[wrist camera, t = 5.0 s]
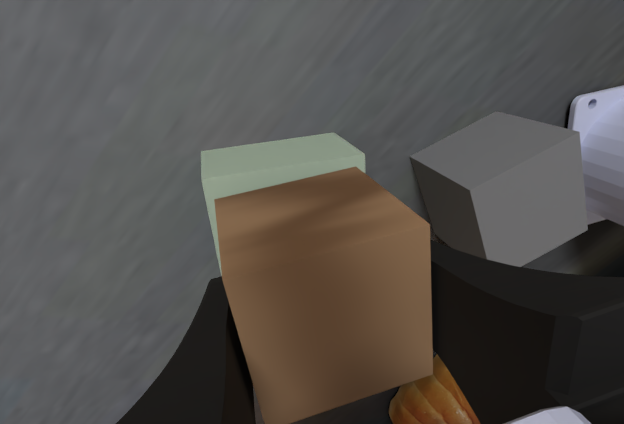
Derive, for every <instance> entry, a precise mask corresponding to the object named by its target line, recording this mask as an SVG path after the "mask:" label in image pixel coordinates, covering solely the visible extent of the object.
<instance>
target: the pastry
mask: <svg viewBox="0 0 624 424" xmlns="http://www.w3.org/2000/svg"><path fill="white" fill-rule="evenodd" d="M389 416H390V418H391V420H392V422H393V424H481V423H480V422H479V420H478V418H477V417H476V415H475V413H474V411H473V410H472V408H471V406H470V405H469V403H468V401H467V400H466V398H465V396H464V395H463V393H462V391H461V390H460V388H459V386H458V385H457V383H456V382H455V380H454V378H453V377H452V375H451V374H450V372H449V370H448V369H447V367H446V366H445V364H444V363H443V362H442V360H441V359H440V357H439V356H438V355H437V354H436V356H435V357H434V358H433V374H432V375H429V376H427V377H424V378H421V379H418V380H415V381H412V382H409V383H406V384H403V385H401V386H400V388H399V390H398V392H397V394H396V395H395V396H394V398H393V399H392V400H391V402H390V406H389Z"/></svg>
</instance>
